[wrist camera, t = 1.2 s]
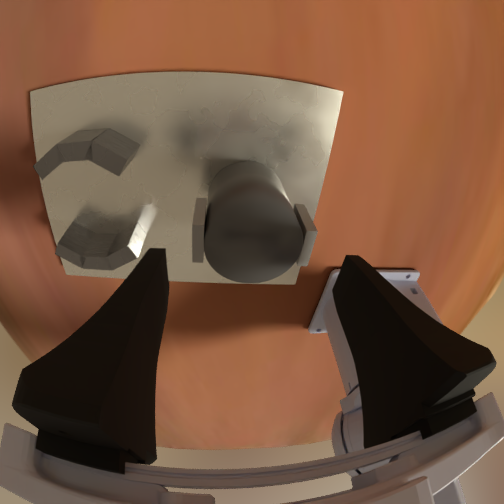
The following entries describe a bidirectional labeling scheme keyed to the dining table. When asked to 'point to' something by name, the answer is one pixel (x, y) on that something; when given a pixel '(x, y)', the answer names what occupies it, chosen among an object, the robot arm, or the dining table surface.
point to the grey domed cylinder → (250, 225)
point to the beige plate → (168, 159)
